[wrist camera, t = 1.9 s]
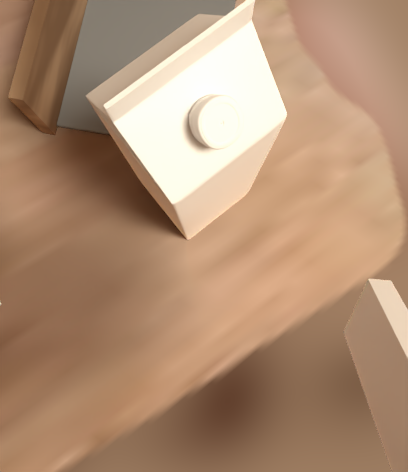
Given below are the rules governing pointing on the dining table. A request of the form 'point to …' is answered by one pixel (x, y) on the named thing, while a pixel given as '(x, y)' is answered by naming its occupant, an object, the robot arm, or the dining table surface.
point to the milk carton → (195, 116)
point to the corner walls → (46, 60)
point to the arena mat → (120, 46)
